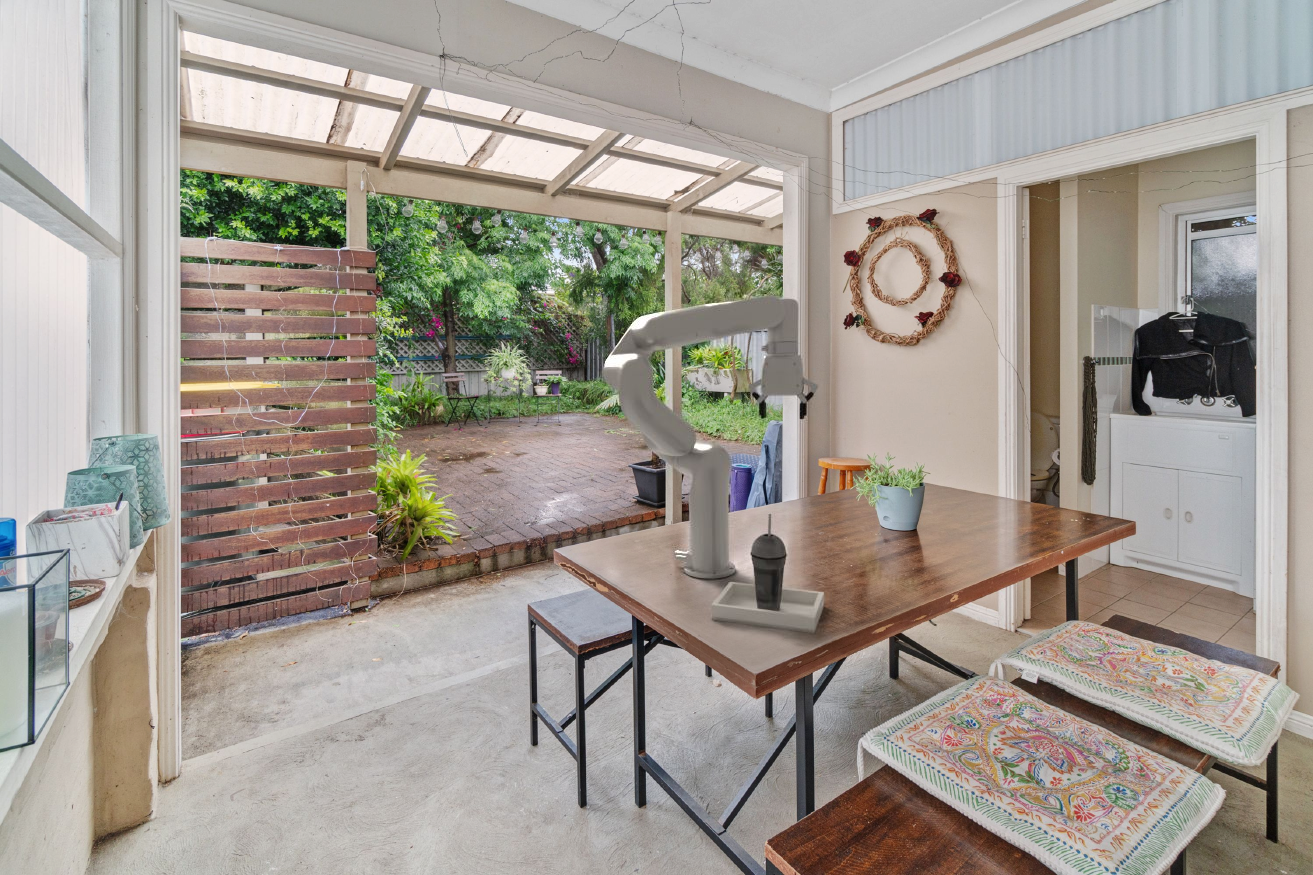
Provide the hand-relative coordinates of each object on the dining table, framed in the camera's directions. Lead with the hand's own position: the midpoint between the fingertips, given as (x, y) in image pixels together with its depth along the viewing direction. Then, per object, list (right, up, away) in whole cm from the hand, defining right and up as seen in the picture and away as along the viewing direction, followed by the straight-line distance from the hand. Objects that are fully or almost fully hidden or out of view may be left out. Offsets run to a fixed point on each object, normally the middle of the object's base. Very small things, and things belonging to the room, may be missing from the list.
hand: (782, 418), depth 158 cm
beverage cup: (-9, -40, -30) cm, 51 cm away
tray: (-9, -40, -30) cm, 51 cm away
